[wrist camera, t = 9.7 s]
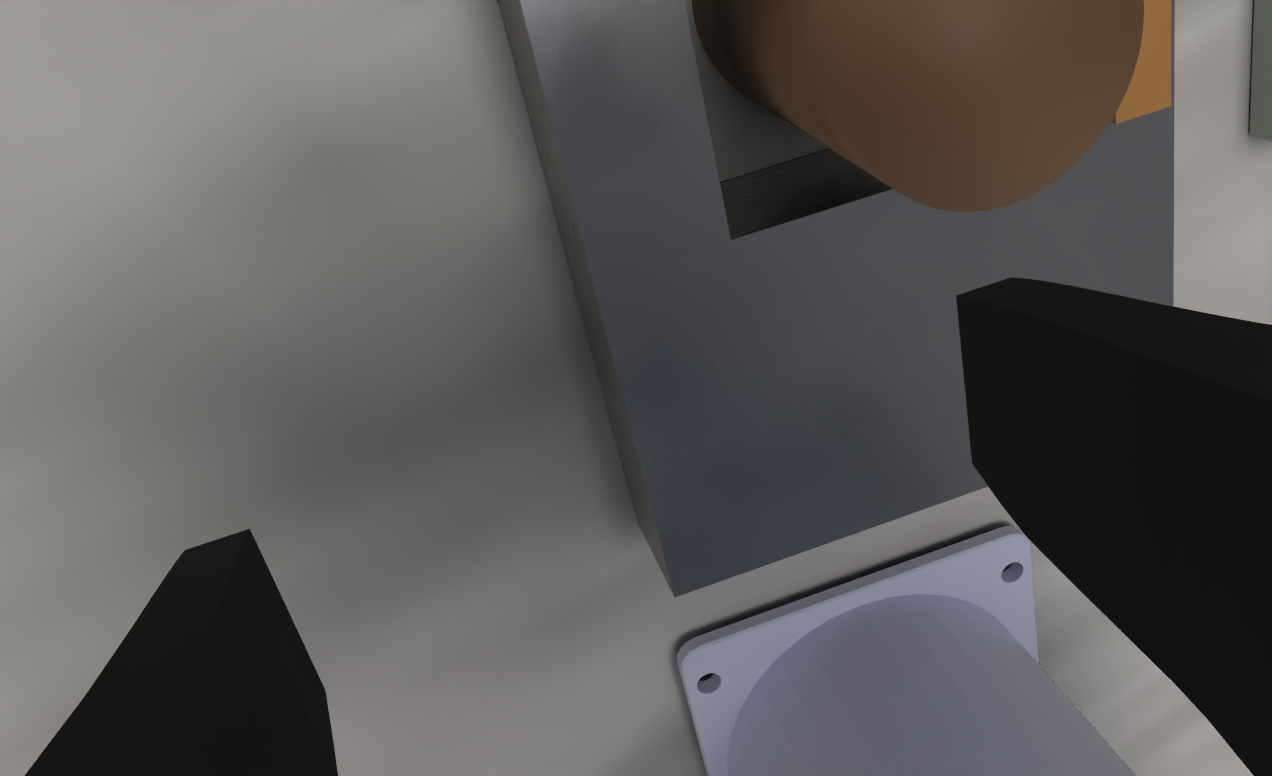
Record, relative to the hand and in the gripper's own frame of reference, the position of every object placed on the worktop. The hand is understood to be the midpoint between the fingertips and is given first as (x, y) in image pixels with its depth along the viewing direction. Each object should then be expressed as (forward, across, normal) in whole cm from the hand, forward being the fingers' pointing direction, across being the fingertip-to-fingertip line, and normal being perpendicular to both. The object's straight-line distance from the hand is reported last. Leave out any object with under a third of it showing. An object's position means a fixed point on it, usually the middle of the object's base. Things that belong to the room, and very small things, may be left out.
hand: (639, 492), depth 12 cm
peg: (+9, -6, -2) cm, 11 cm away
